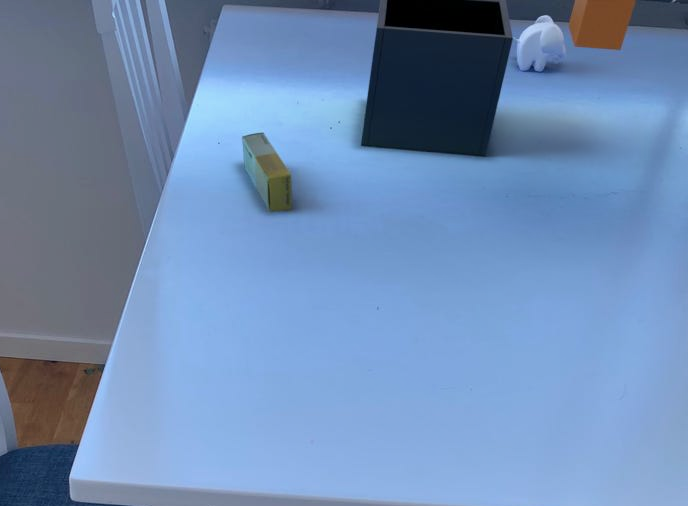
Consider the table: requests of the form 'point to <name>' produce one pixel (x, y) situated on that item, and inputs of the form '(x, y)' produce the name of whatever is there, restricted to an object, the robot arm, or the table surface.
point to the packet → (600, 23)
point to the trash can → (436, 75)
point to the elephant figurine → (540, 44)
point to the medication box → (267, 172)
